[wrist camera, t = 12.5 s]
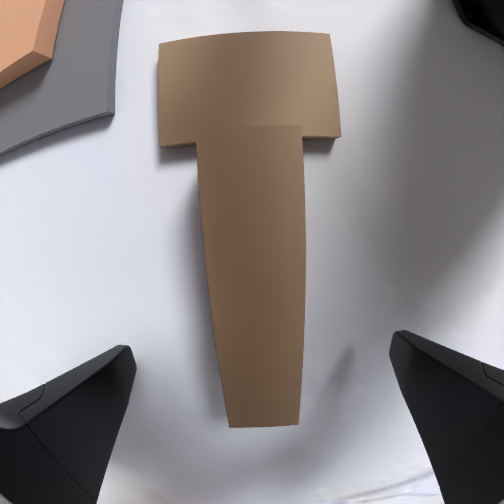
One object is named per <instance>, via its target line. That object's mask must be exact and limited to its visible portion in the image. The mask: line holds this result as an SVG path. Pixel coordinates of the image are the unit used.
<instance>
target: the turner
mask: <svg viewBox="0 0 504 504" xmlns="http://www.w3.org/2000/svg"><path fill="white" fill-rule="evenodd" d="M158 119H159V145H160V147H164V148H169V147H177V146H185V145H193V144H196V150H197V167H198V182H199V195H200V208H201V220H202V231H203V242H204V252H205V262H206V271H207V280H208V289H209V297H210V305H211V313H212V321H213V328H214V336H215V343H216V350H217V356H218V363H219V370H220V376H221V382H222V388H223V394H224V400H225V406H226V412H227V418H228V423H229V427H230V428H244V427H274V426H289V425H298V421H299V410H300V397H301V382H302V366H303V346H304V321H305V274H306V235H305V188H304V162H303V143H302V138H320V139H336V138H339V137H341V128H340V115H339V104H338V93H337V84H336V75H335V67H334V60H333V53H332V46H331V40H330V34H324V33H311V32H288V31H264V32H241V33H228V34H217V35H209V36H201V37H194V38H188V39H182V40H176V41H171V42H166V43H161V44H159V61H158Z"/></svg>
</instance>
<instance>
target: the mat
mask: <svg viewBox="0 0 504 504" xmlns="http://www.w3.org/2000/svg"><path fill="white" fill-rule="evenodd" d="M122 4H123V0H65V1H64V5H63V8H62V12H61V16H60V20H59V24H58V29H57V34H56V39H55V44H54V50H53V56H52V59H50V60H49V61H47V62H45V63H43V64H41V65H39V66H37V67H35V68H34V69H32V70H30V71H28V72H27V73H25V74H23V75H22V76H20V77H18V78H17V79H15V80H14V81H12V82H10V83H9V84H7V85H6V86H4V87H3V88H1V89H0V156H1V155H3V154H5V153H7V152H9V151H12V150H14V149H16V148H18V147H20V146H23V145H25V144H27V143H30V142H32V141H34V140H37V139H39V138H42V137H44V136H47V135H50V134H52V133H55V132H58V131H60V130H63V129H66V128H69V127H72V126H75V125H78V124H81V123H84V122H88V121H91V120H94V119H98V118H101V117H105V116H108V115H112V114H115V74H116V57H117V45H118V35H119V26H120V18H121V11H122Z"/></svg>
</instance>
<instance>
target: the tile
mask: <svg viewBox="0 0 504 504" xmlns="http://www.w3.org/2000/svg"><path fill="white" fill-rule="evenodd" d="M64 1H65V0H0V89H1V88H3V87H4V86H6V85H7V84H9V83H10V82H12V81H14V80H15V79H17V78H18V77H20V76H22V75H23V74H25V73H27V72H28V71H30V70H32V69H34V68H35V67H37V66H39V65H41V64H43V63H45V62H47V61H49V60H50V59H52V56H53V50H54V44H55V39H56V34H57V29H58V24H59V20H60V16H61V12H62V8H63V5H64Z"/></svg>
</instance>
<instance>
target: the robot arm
mask: <svg viewBox="0 0 504 504" xmlns="http://www.w3.org/2000/svg"><path fill="white" fill-rule="evenodd" d="M454 3H455V5H456V8H457V10H458V13H459V15H460V18H461V19H462V21H463V22H464V23H465V24H466V25H467V26H469V27H470V28H472V29H474V30H476V31H478V32H480V33H482V34H484V35H486V36H488V37H490V38H491V39H493V40H495V41H497V42H498V43H500V44H502V45H503V46H504V0H454ZM389 356H390V360H391V363H392V366H393V369H394V372H395V375H396V378H397V381H398V384H399V387H400V390H401V392H402V395H403V397H404V399H405V401H406V404H407V406H408V408H409V410H410V413H411V415H412V417H413V420H414V422H415V424H416V427H417V429H418V432H419V434H420V437H421V439H422V441H423V444H424V446H425V449H426V452H427V454H428V457H429V459H430V462H431V465H432V467H433V470H434V473H435V476H436V478H437V481H438V484H439V486H440V491H441V494H442V497H443V500H444V503H445V504H504V370H502V369H499V368H496V367H494V366H491V365H489V364H486V363H484V362H481V361H479V360H476V359H474V358H471V357H469V356H467V355H464V354H462V353H459V352H457V351H454V350H452V349H450V348H447V347H445V346H442V345H440V344H438V343H435V342H433V341H430V340H428V339H426V338H423V337H421V336H418V335H416V334H414V333H411V332H409V331H407V330H401V331H396V332H394V334H393V337H392V341H391V346H390V351H389ZM136 369H137V368H136V362H135V359H134V356H133V353H132V350H131V348H130V347H129V346H128V345H117V346H115V347H114V348H112V349H110V350H108V351H106V352H104V353H102V354H100V355H98V356H97V357H95V358H93V359H91V360H89V361H87V362H85V363H83V364H81V365H80V366H78V367H76V368H74V369H72V370H70V371H68V372H66V373H64V374H62V375H60V376H58V377H56V378H55V379H53V380H51V381H49V382H47V383H46V384H43V385H41V386H39V387H37V388H35V389H33V390H31V391H29V392H27V393H24V394H22V395H20V396H17V397H15V398H12V399H10V400H7V401H5V402H2V403H0V504H97V500H98V496H99V492H100V489H101V486H102V482H103V479H104V475H105V472H106V469H107V466H108V462H109V459H110V456H111V453H112V450H113V447H114V444H115V441H116V438H117V435H118V432H119V429H120V426H121V423H122V420H123V418H124V415H125V412H126V409H127V406H128V403H129V399H130V394H131V390H132V386H133V382H134V378H135V374H136Z"/></svg>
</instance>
